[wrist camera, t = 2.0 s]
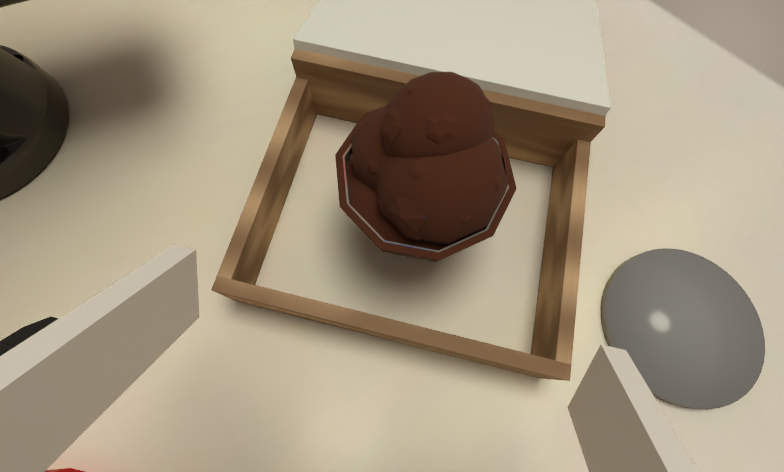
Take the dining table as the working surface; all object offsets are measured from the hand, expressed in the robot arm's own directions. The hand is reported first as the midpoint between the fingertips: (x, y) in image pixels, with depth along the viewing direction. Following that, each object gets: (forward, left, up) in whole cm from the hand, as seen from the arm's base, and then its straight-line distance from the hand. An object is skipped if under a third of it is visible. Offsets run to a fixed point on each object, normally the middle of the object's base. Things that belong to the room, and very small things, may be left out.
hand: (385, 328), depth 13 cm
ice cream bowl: (-9, +4, -18) cm, 20 cm away
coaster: (+2, +23, -17) cm, 29 cm away
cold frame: (-9, +4, -17) cm, 20 cm away
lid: (-27, +12, -17) cm, 34 cm away
